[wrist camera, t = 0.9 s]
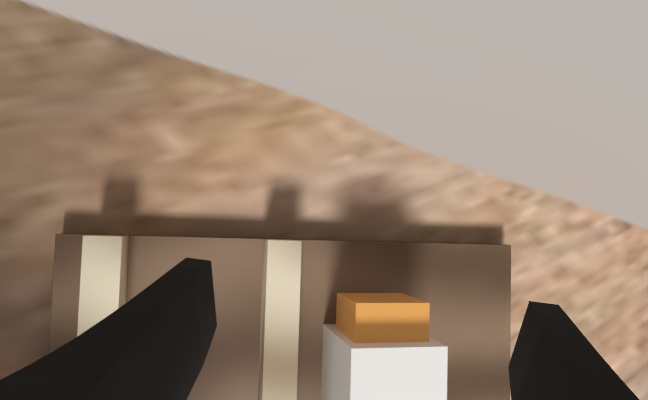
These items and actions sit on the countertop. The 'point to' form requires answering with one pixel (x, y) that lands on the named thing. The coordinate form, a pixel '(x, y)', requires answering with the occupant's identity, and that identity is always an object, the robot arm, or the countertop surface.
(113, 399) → the robot arm
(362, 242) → the board
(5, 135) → the countertop surface
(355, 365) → the white tall block
